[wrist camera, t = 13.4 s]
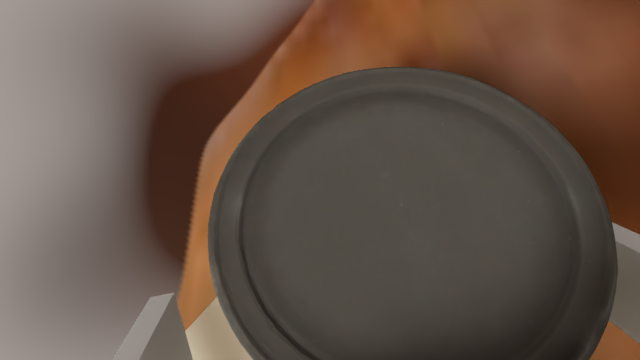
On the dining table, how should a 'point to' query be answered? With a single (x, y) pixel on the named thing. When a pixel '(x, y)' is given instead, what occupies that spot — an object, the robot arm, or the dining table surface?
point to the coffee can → (410, 227)
